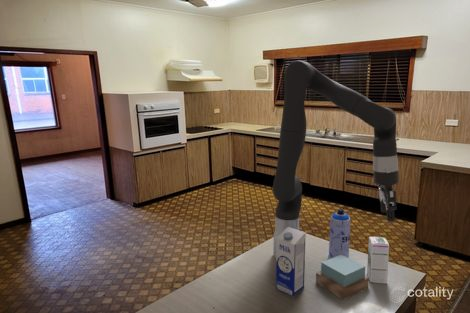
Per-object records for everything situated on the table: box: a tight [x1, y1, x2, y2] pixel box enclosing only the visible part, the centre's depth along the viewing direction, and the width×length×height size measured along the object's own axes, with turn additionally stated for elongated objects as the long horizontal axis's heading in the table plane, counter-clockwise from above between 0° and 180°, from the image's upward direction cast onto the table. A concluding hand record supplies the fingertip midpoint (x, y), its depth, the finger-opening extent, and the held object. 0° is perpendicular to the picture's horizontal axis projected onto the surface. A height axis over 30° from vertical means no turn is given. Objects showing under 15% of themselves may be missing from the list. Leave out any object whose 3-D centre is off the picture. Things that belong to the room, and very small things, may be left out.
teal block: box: [320, 255, 366, 287], centre depth 111 cm, size 10×10×4 cm
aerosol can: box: [327, 208, 352, 260], centre depth 129 cm, size 8×8×20 cm
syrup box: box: [366, 236, 390, 285], centre depth 114 cm, size 6×6×14 cm
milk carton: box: [275, 227, 307, 297], centre depth 109 cm, size 7×7×20 cm
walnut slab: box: [315, 270, 370, 300], centre depth 112 cm, size 12×12×4 cm
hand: (387, 216), depth 111 cm, fingers open, 8 cm apart
